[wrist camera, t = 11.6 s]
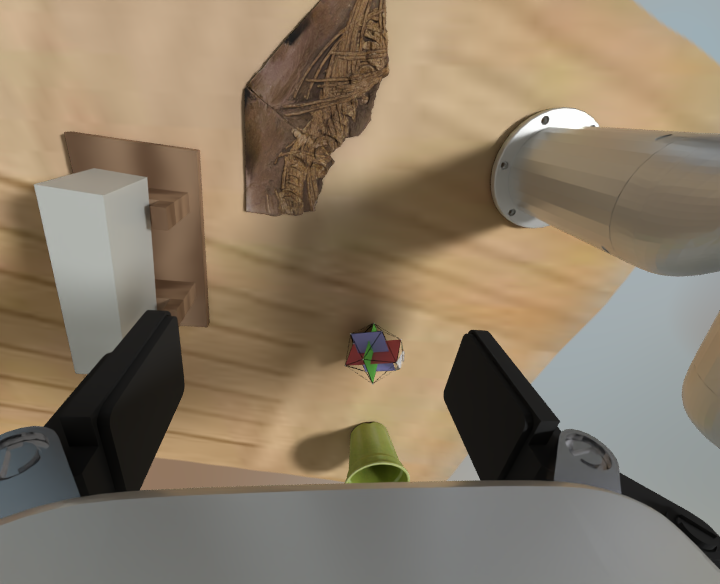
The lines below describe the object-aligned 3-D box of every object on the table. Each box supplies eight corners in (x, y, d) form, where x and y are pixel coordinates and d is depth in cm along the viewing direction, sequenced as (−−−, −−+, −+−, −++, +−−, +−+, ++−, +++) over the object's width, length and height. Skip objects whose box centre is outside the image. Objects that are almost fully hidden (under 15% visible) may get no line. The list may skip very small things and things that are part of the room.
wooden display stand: (199, 149, 33) (174, 159, 27) (209, 322, 42) (192, 359, 36) (71, 131, 31) (11, 137, 25) (110, 317, 40) (74, 354, 34)
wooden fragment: (296, 238, 39) (295, 242, 38) (201, 184, 35) (198, 186, 34) (440, 3, 30) (444, 0, 29) (336, -103, 26) (337, -111, 25)
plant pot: (327, 440, 55) (330, 493, 47) (366, 404, 52) (375, 455, 45) (370, 459, 58) (378, 512, 51) (408, 428, 56) (423, 478, 48)
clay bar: (147, 177, 29) (103, 195, 23) (158, 331, 36) (127, 376, 30) (94, 168, 28) (34, 184, 22) (116, 327, 35) (75, 373, 29)
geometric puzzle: (342, 378, 46) (384, 403, 40) (324, 340, 43) (368, 361, 37) (376, 345, 50) (420, 364, 44) (363, 308, 46) (408, 323, 41)
